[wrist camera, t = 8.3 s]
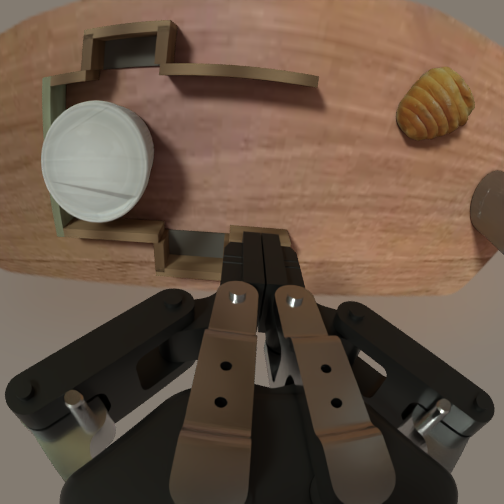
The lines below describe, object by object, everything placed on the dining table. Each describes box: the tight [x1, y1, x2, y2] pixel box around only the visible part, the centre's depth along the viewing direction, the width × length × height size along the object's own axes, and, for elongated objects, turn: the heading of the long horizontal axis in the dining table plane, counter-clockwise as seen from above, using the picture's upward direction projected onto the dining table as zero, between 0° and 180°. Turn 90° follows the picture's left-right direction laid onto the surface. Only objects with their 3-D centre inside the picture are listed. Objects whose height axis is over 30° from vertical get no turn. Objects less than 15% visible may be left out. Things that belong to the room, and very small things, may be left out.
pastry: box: [396, 67, 475, 141], centre depth 24 cm, size 9×7×4 cm
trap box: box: [42, 20, 319, 281], centre depth 26 cm, size 25×25×3 cm
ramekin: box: [41, 100, 154, 223], centre depth 25 cm, size 11×11×5 cm
